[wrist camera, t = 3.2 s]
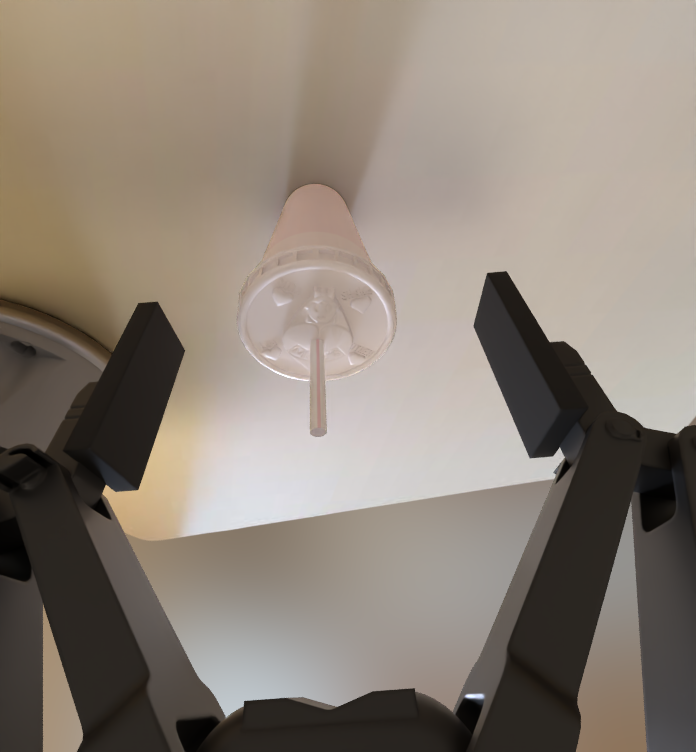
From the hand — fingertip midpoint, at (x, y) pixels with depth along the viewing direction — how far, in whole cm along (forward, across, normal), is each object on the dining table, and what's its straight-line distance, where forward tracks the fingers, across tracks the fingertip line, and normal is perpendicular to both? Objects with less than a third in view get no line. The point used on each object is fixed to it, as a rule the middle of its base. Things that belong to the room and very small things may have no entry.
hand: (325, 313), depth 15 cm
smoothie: (+9, 0, 0) cm, 9 cm away
